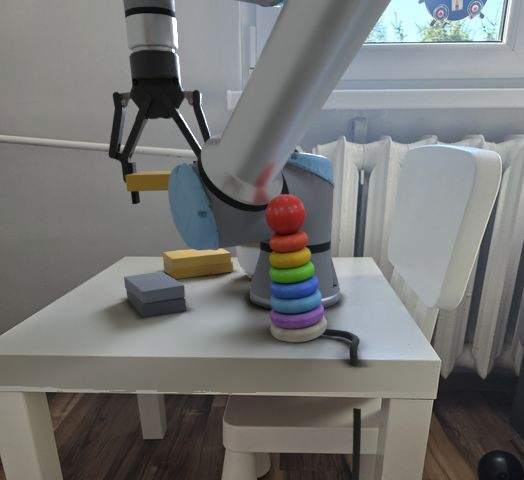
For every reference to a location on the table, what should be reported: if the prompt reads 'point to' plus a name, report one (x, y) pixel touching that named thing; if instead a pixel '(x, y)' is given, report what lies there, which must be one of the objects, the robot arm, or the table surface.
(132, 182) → the mustard block
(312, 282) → the stacking toy
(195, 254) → the mustard pile
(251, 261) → the white bowl
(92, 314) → the table surface
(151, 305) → the grey pile
